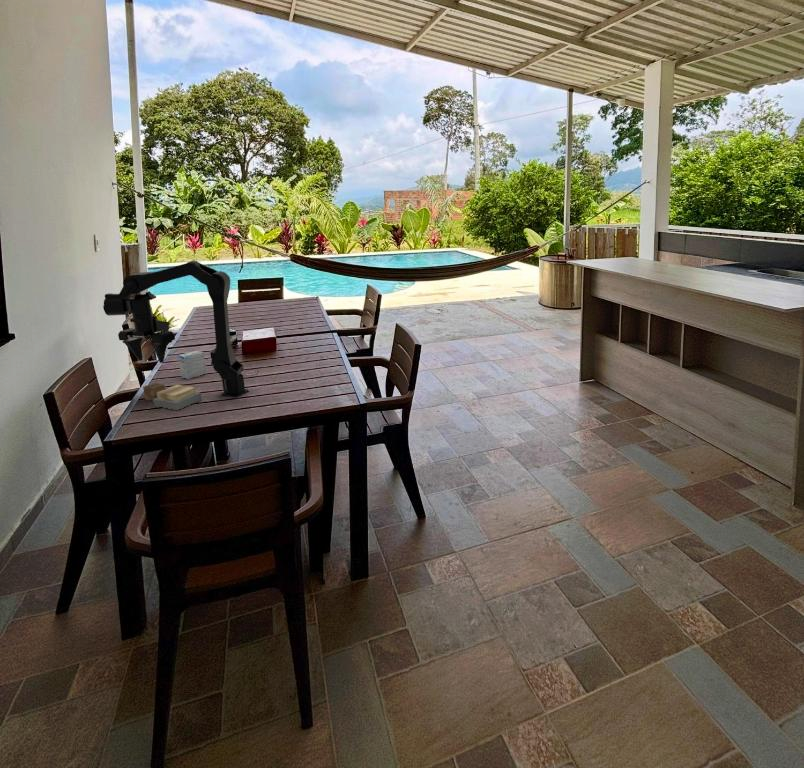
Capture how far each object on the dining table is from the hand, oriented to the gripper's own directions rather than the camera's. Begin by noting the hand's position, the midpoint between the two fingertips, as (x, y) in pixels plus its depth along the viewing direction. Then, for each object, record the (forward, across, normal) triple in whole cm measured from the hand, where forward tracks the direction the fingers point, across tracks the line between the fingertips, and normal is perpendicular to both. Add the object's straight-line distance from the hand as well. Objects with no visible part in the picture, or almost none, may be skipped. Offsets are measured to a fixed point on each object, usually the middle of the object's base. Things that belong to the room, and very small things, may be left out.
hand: (151, 361), depth 179 cm
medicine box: (+12, +5, -22) cm, 26 cm away
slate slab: (+12, -12, +3) cm, 17 cm away
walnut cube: (+12, -1, +1) cm, 12 cm away
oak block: (+10, -12, +3) cm, 15 cm away
